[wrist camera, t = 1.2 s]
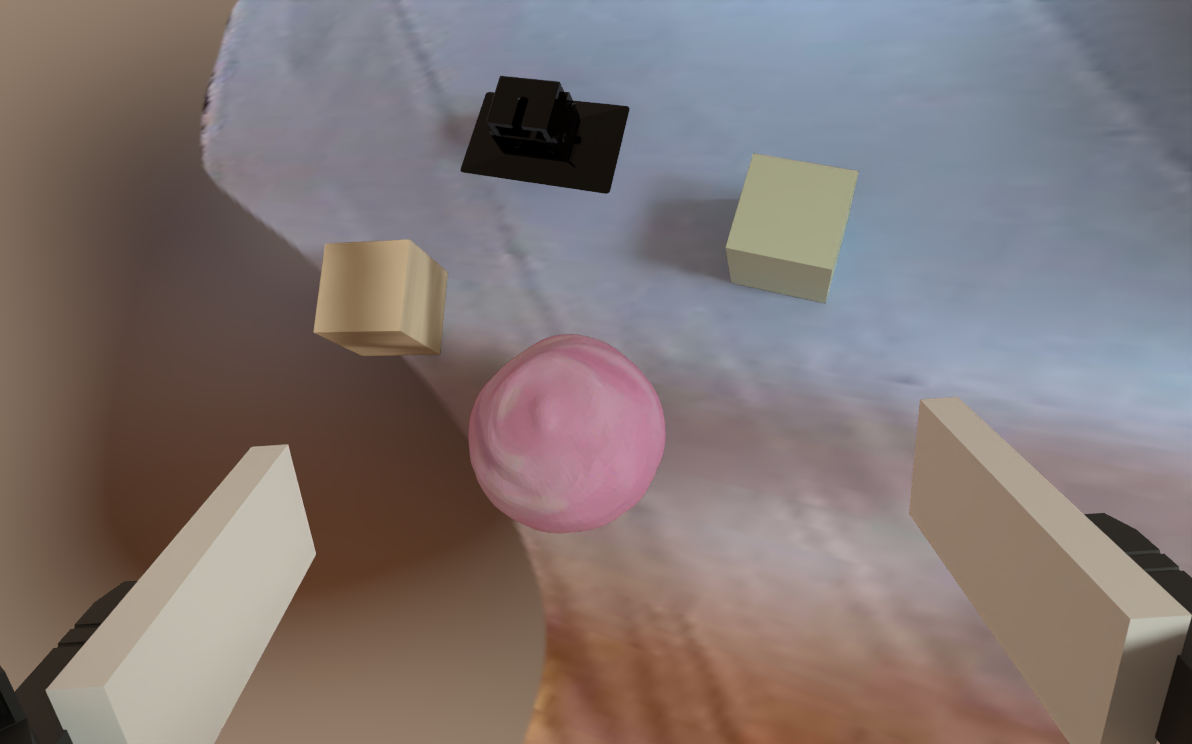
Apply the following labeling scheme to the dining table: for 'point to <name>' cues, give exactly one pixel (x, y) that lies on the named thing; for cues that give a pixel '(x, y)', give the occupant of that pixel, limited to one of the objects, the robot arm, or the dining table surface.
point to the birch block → (381, 298)
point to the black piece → (545, 136)
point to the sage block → (790, 226)
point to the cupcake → (566, 435)
